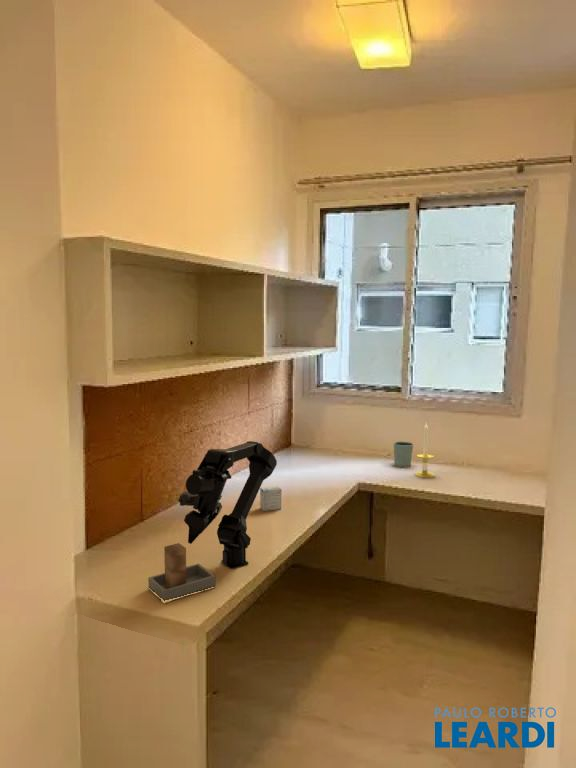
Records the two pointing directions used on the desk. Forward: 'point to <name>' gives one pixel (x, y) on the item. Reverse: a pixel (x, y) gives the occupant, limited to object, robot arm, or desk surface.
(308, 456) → the desk surface
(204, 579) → the tray
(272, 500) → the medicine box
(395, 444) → the green cup
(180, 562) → the walnut block
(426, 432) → the candle
